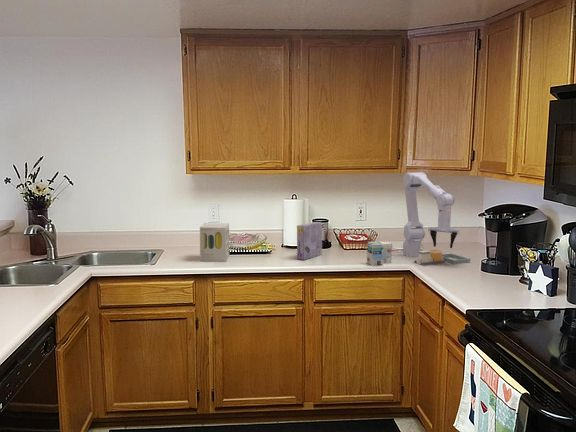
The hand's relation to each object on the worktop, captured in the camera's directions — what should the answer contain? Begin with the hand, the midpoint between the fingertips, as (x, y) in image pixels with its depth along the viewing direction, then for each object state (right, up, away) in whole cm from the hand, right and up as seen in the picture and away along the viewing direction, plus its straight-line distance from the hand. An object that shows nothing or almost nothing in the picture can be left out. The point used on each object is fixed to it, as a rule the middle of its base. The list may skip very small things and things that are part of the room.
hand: (442, 247), depth 268 cm
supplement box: (-112, -7, +15) cm, 113 cm away
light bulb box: (-30, -9, +6) cm, 32 cm away
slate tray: (+8, -8, +10) cm, 15 cm away
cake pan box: (-63, -7, +21) cm, 67 cm away
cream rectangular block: (-8, -8, +3) cm, 12 cm away
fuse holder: (-5, -9, +5) cm, 11 cm away
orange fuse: (-2, -8, +6) cm, 10 cm away
